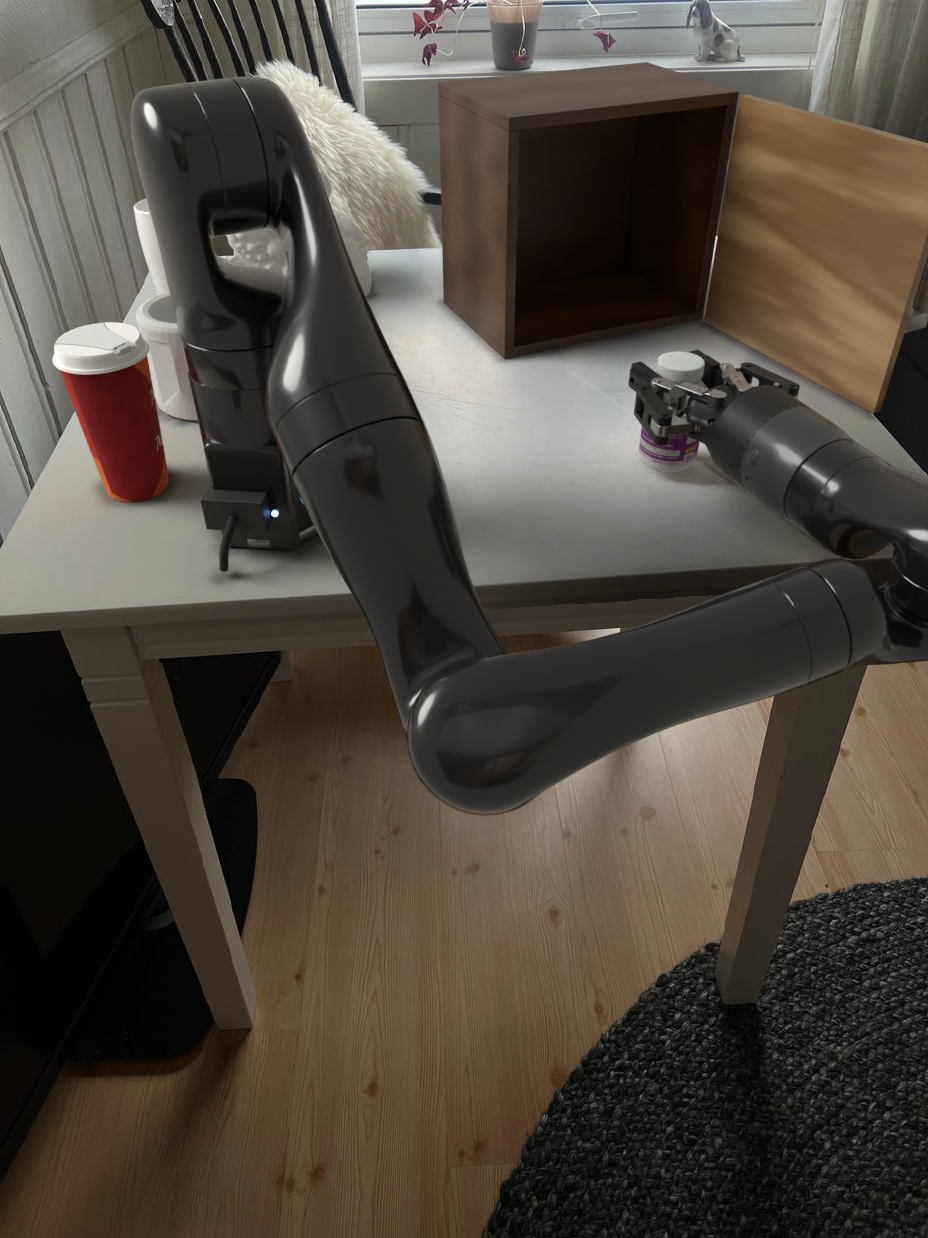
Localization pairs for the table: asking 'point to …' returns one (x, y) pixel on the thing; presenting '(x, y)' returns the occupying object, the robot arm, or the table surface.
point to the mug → (166, 357)
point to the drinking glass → (150, 246)
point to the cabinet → (580, 201)
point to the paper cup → (115, 406)
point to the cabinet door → (822, 246)
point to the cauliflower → (269, 253)
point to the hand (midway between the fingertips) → (663, 366)
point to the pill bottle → (681, 447)
